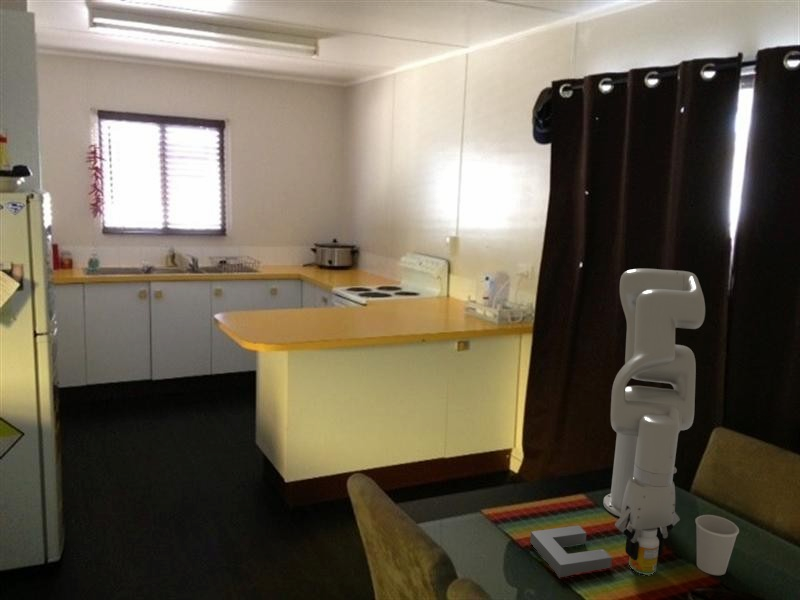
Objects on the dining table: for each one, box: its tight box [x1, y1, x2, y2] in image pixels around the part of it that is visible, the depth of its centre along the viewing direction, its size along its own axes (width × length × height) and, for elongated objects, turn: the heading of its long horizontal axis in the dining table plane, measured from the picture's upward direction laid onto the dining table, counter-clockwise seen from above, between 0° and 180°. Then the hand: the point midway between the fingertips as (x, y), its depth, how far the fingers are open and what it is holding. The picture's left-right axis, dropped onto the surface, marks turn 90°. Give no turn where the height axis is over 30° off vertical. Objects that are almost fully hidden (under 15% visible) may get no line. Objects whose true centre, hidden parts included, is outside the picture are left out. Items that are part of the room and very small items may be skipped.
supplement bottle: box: [628, 528, 659, 575], centre depth 139 cm, size 5×5×10 cm
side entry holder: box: [529, 525, 613, 579], centre depth 143 cm, size 12×13×3 cm
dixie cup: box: [695, 514, 740, 576], centre depth 141 cm, size 8×8×10 cm
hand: (643, 553), depth 140 cm, fingers closed on supplement bottle, 5 cm apart
